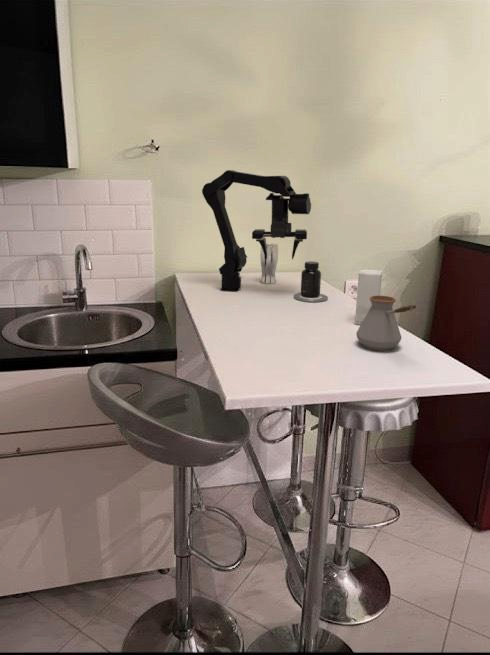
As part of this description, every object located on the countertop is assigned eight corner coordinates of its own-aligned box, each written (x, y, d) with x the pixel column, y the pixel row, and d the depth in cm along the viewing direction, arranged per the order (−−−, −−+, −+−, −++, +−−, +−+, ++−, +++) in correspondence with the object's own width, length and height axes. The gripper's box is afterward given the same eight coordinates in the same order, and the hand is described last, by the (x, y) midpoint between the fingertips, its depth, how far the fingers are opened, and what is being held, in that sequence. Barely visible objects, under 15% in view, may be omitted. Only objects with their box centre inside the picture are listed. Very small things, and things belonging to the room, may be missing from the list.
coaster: (292, 301, 177) (292, 299, 177) (295, 293, 188) (295, 291, 188) (327, 303, 175) (327, 301, 175) (328, 295, 186) (328, 293, 186)
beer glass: (257, 280, 206) (258, 243, 202) (273, 280, 208) (274, 243, 204) (262, 284, 200) (264, 246, 196) (279, 284, 202) (281, 245, 198)
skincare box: (375, 327, 151) (381, 274, 146) (352, 324, 153) (357, 272, 148) (378, 319, 158) (383, 269, 153) (356, 317, 160) (361, 267, 155)
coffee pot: (348, 339, 139) (353, 285, 134) (387, 337, 141) (393, 284, 137) (385, 369, 119) (393, 307, 115) (430, 366, 122) (439, 305, 117)
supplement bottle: (310, 292, 186) (312, 260, 183) (323, 296, 181) (326, 263, 177) (296, 295, 182) (298, 261, 179) (309, 299, 177) (311, 265, 173)
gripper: (249, 215, 170) (250, 262, 174) (306, 215, 167) (305, 263, 172) (254, 213, 180) (254, 257, 185) (307, 213, 178) (306, 258, 182)
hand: (279, 259), depth 181 cm, fingers open, 9 cm apart
